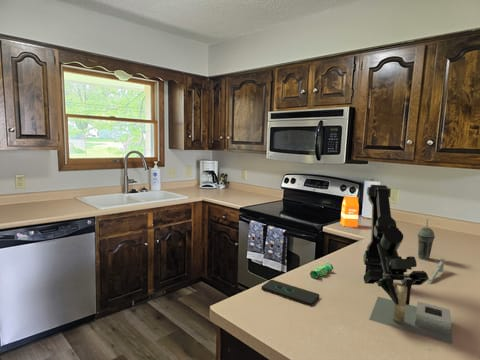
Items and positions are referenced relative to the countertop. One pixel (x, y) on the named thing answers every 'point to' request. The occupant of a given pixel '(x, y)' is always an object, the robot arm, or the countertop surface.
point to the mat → (385, 315)
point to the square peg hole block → (433, 318)
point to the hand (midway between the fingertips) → (402, 304)
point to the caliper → (437, 270)
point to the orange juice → (350, 211)
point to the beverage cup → (425, 242)
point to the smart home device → (291, 292)
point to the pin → (400, 304)
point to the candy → (321, 270)
